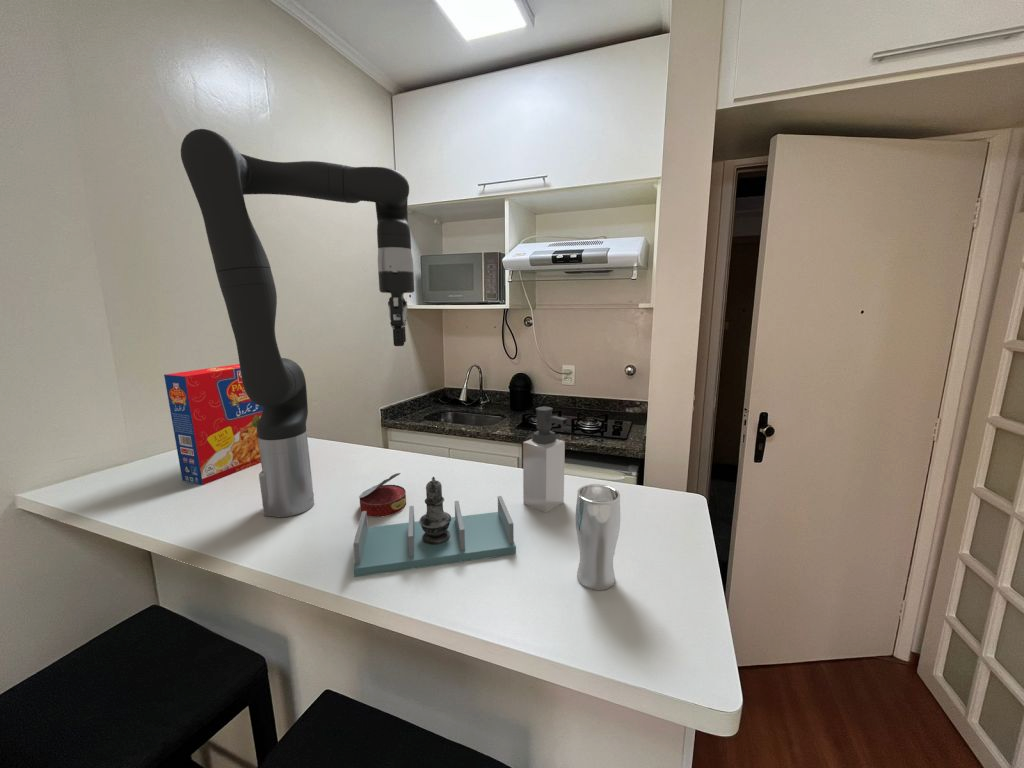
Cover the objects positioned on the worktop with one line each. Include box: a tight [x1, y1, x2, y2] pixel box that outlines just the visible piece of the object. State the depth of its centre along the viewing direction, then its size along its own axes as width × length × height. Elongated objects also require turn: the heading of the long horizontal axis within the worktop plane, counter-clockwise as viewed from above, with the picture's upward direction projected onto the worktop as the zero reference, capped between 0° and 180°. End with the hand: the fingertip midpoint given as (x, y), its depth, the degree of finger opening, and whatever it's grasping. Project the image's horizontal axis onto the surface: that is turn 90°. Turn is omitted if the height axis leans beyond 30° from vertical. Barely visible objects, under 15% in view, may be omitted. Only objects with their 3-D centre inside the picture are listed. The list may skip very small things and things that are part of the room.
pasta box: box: [163, 363, 263, 486], centre depth 115 cm, size 28×8×28 cm, turn 159°
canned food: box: [358, 472, 407, 518], centre depth 91 cm, size 11×10×10 cm
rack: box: [352, 495, 517, 578], centre depth 77 cm, size 28×13×6 cm, turn 103°
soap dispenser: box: [522, 406, 568, 514], centre depth 90 cm, size 6×9×22 cm
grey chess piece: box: [418, 476, 452, 545], centre depth 76 cm, size 6×6×12 cm
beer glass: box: [575, 483, 622, 591], centre depth 66 cm, size 7×7×15 cm
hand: (400, 344), depth 94 cm, fingers open, 8 cm apart
